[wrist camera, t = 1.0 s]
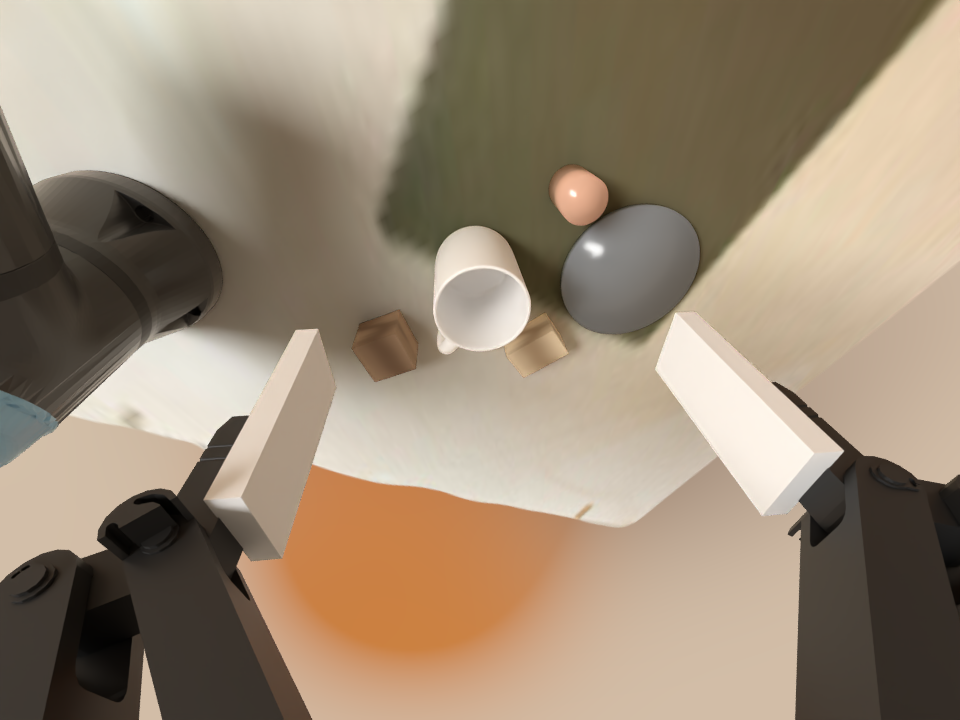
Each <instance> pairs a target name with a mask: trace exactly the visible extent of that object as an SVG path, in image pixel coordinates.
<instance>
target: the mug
mask: <svg viewBox="0 0 960 720" xmlns="http://www.w3.org/2000/svg"><path fill="white" fill-rule="evenodd" d="M530 312H531V300H530V296H529V292H528V290H527V287H526V285H525V282H524V279H523V277H522V274H521V272H520V269H519V267H518V264H517V261H516V259H515V256H514V254H513V251H512V249H511V247H510V246H509V244H508V242H507V241H506V240H505V239H504V238H503V237H502V236H501V235H500V234H499V233H497V232H496V231H494V230H492V229H490V228H487V227H482V226H469V227H464V228H461V229H459V230H457V231H455V232H453V233H452V234H450V235H449V236H448V237H447V238H446V239H445V240H444V242H443V243H442V245H441V246H440V248H439V250H438V253H437V256H436V261H435V276H434V301H433V315H434V320H435V323H436V325H437V328H438V335H437V346H438V349H439V351H440V352H441V353H443V354H451V353H453V352H454V351H455V350H456V349H457V348H458V347H460V348H463V349H466V350H470V351H489V350H494V349H497V348H500V347H503V346H505V345H507V344H508V343H510V342H511V341H513V340H514V339H515V338H516V337H517V336H518V335H519V334H520V333H521V332H522V331H523V329H524V328H525V326H526V324H527V322H528V320H529V317H530Z"/></svg>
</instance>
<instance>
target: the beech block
mask: <svg viewBox="0 0 960 720" xmlns="http://www.w3.org/2000/svg"><path fill="white" fill-rule="evenodd" d="M504 348H505V353H506V357H507V358H508V359H509V361H510V362H511V363H512V364H513V365H514V367H515V368H516V369H517V370H518V372H519V373H520V374H521V375H522V377H523V378H525V377H527V376H528V375H530V374H532V373H534V372H536V371H538V370H540V369H541V368H543V367H545V366H547V365H549V364H551V363H552V362H554V361H556V360H558V359H560V358H562V357H564V356H565V355H567V354H569V353H568V351H567V349H566V346H565V344H564V342H563V340H562V337H561V335H560V334H559V332H558V331H557V329H556V328H555V326H554V324H553V323H552V321H551V320H550V318H549V317H548V315H547V314H546V312H545V313H543V314H542V315H540V316H538V317H536V318H535V319H533V320H531V321H530V322H528V323H527V324H526V326H525V328H524V329H523V331H522V332H521V333H520V334H519V335H518V336H517V337H516V338H515V339H514V340H513V341H511V342H510V343H508V344H507V345H505V346H504Z"/></svg>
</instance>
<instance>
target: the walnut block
mask: <svg viewBox="0 0 960 720" xmlns="http://www.w3.org/2000/svg"><path fill="white" fill-rule="evenodd" d="M352 350H353V352H354V353H355V354H356V356H357V357H358V359H359V360H360V362H361V363H362V364H363V366H364V367H365V369H366V370H367V372H368V373H369V374H370V376H371V377H372V379H373V380H374V382H377V381H380V380H383V379H387V378H390V377H393V376H396V375H399V374H402V373H405V372H408V371H411V370H414V369H416V362H417V351H418V342H417V340H416V338H415V337H414V335H413V333H412V331H411V330H410V328H409V326H408V324H407V322H406V321H405V319H404V317H403V315H402V313H401V312H400V310H397V311H394V312H391V313H389V314H386V315H383V316H380V317H377V318H375V319H372V320H369V321H366V322H363V323H361V324H359V327H358V330H357V333H356V336H355V339H354V342H353V346H352Z"/></svg>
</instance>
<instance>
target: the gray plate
mask: <svg viewBox="0 0 960 720" xmlns="http://www.w3.org/2000/svg"><path fill="white" fill-rule="evenodd" d="M699 259H700V247H699V241H698V237H697V234H696V232H695V230H694V228H693V227H692V225H691V224H690V222H689V221H688V220H687V219H686V218H684V217H683V216H682V215H680V214H679V213H677V212H676V211H674V210H672V209H670V208H668V207H665V206H662V205H657V204H635V205H630V206H626V207H623V208H620V209H617V210H615V211H613V212H611V213H609V214H607V215H605V216H603V217H602V218H600V219H599V220H597V221H596V222H595V223H593V224H592V225H591V226H590V227H589V228H588V229H587V230H586V231H584V232H583V233H582V235H581V236H580V237H579V238H578V239H577V241H576V242H575V243H574V245H573V246H572V248H571V250H570V251H569V253H568V255H567V257H566V260H565V263H564V265H563V269H562V273H561V282H560V286H561V295H562V299H563V302H564V304H565V306H566V308H567V310H568V312H569V313H570V315H571V316H572V317H573V319H574V320H575V321H576V322H578V323H579V324H580V325H581V326H583V327H585V328H586V329H589V330H591V331H594V332H598V333H603V334H622V333H628V332H632V331H635V330H638V329H641V328H643V327H646V326H648V325H650V324H652V323H654V322H655V321H657V320H658V319H660V318H662V317H663V316H664V315H666V314H667V313H668V312H669V311H670V310H671V309H673V308H674V307H675V306H676V305H677V304H678V302H679V301H680V300H681V299H682V298H683V296H684V295H685V294H686V292H687V291H688V289H689V287H690V286H691V284H692V282H693V280H694V278H695V275H696V272H697V269H698V265H699Z"/></svg>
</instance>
